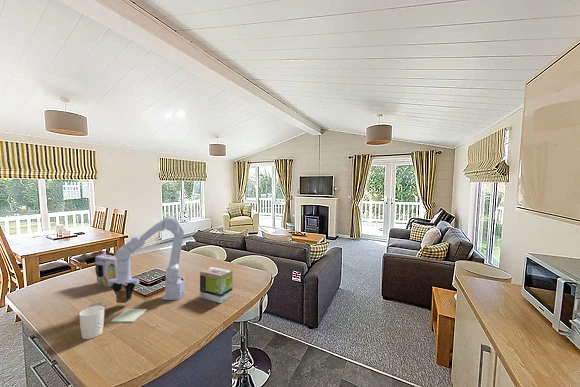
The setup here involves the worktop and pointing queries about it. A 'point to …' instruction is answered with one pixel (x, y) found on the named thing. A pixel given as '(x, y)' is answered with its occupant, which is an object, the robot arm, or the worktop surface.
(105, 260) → the cake pan box
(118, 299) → the walnut block
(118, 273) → the robot arm
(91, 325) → the white cup
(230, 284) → the tea box
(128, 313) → the coaster
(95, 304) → the grey stone block
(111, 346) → the worktop surface
